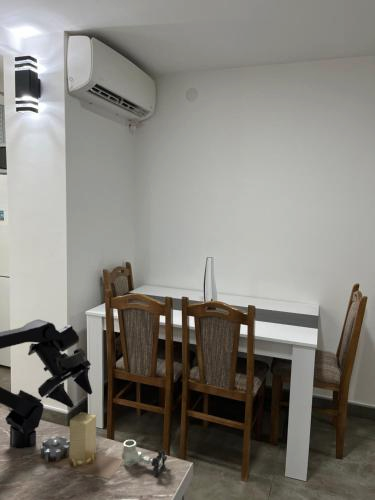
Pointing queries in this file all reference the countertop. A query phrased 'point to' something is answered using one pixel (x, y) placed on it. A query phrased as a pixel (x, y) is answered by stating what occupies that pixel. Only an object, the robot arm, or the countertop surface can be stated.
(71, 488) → the countertop surface
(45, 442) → the sun gear
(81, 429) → the gold tall block
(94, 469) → the carrier board
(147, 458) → the valve
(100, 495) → the countertop surface
